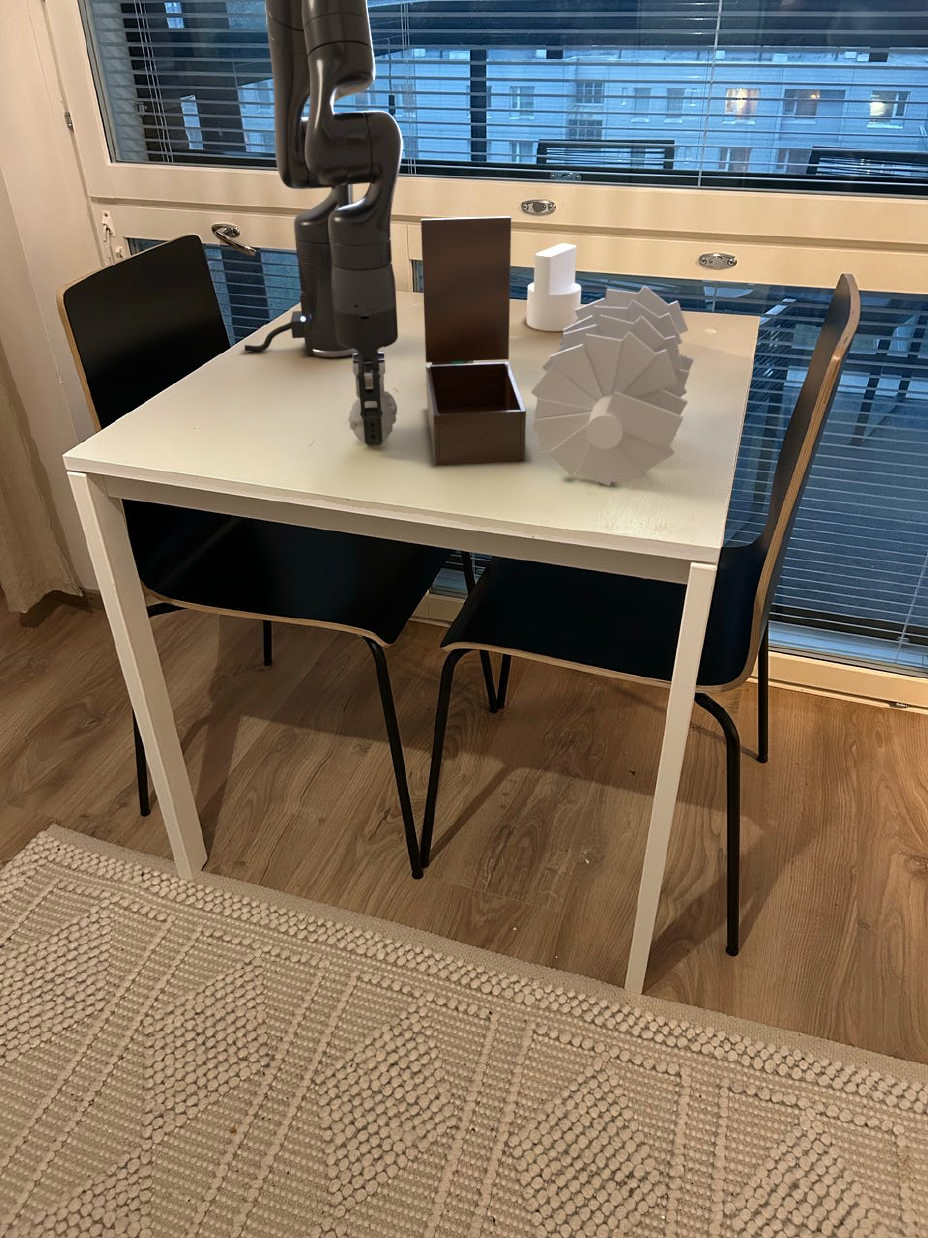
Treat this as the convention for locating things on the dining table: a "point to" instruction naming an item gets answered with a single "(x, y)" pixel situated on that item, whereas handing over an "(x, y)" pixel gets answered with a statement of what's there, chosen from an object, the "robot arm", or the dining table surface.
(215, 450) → the dining table surface
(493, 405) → the chest
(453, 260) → the chest lid
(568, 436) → the spiral staircase
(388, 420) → the grey rounded lumpy piece
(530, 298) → the base with upright slab
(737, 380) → the dining table surface
